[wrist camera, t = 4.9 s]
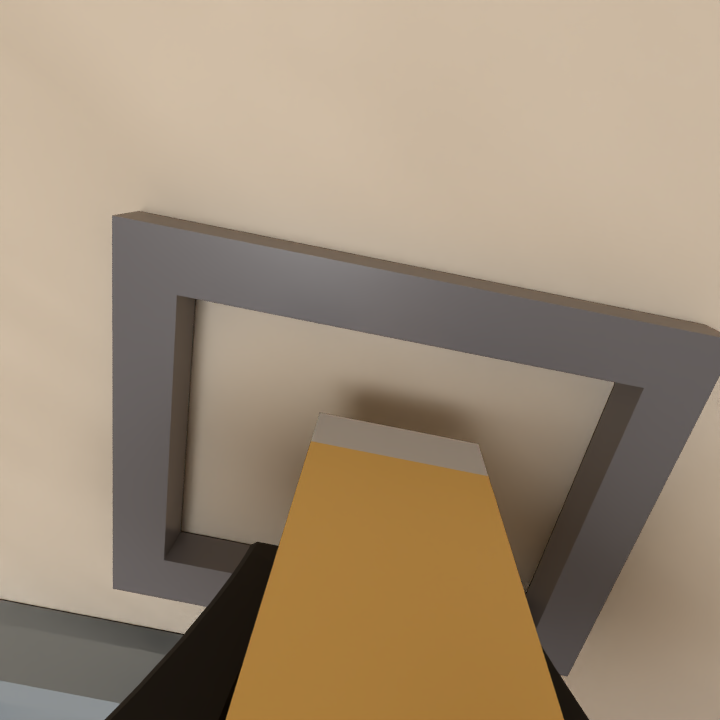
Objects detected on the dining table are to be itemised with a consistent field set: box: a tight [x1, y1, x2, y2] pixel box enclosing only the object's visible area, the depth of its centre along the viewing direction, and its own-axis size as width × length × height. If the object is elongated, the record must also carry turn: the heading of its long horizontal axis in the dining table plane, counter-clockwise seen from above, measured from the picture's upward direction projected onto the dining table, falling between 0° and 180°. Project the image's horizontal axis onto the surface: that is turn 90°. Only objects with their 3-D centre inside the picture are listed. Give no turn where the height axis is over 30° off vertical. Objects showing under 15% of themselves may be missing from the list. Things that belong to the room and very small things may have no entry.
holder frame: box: [112, 211, 720, 676], centre depth 13 cm, size 14×11×1 cm
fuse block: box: [226, 413, 564, 720], centre depth 8 cm, size 4×5×8 cm
